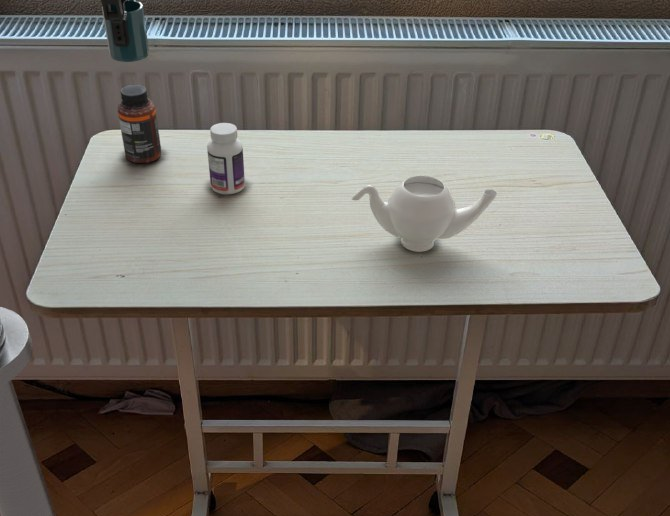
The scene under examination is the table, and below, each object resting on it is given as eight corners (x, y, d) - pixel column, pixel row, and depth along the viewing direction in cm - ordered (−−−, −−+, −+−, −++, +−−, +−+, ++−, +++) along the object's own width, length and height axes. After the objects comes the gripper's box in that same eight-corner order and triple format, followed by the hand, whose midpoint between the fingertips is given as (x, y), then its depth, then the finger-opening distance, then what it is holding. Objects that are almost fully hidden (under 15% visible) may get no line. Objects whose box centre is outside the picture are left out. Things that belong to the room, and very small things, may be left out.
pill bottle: (239, 176, 134) (236, 118, 127) (249, 192, 130) (246, 133, 123) (206, 181, 132) (201, 123, 126) (215, 197, 129) (210, 138, 122)
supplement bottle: (152, 144, 141) (143, 78, 133) (167, 159, 137) (159, 92, 129) (119, 153, 138) (108, 86, 130) (134, 168, 135) (123, 100, 127)
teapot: (353, 219, 125) (356, 162, 119) (486, 232, 124) (496, 175, 117) (345, 254, 118) (347, 196, 112) (486, 268, 117) (496, 210, 110)
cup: (124, 65, 123) (116, 16, 118) (102, 53, 126) (94, 5, 121) (156, 55, 126) (150, 6, 121) (134, 44, 129) (127, -4, 124)
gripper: (91, -104, 118) (111, 19, 129) (67, -76, 107) (90, 55, 119) (144, -103, 118) (159, 21, 130) (125, -74, 108) (143, 57, 119)
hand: (126, 37), depth 124 cm, fingers closed on cup, 5 cm apart
